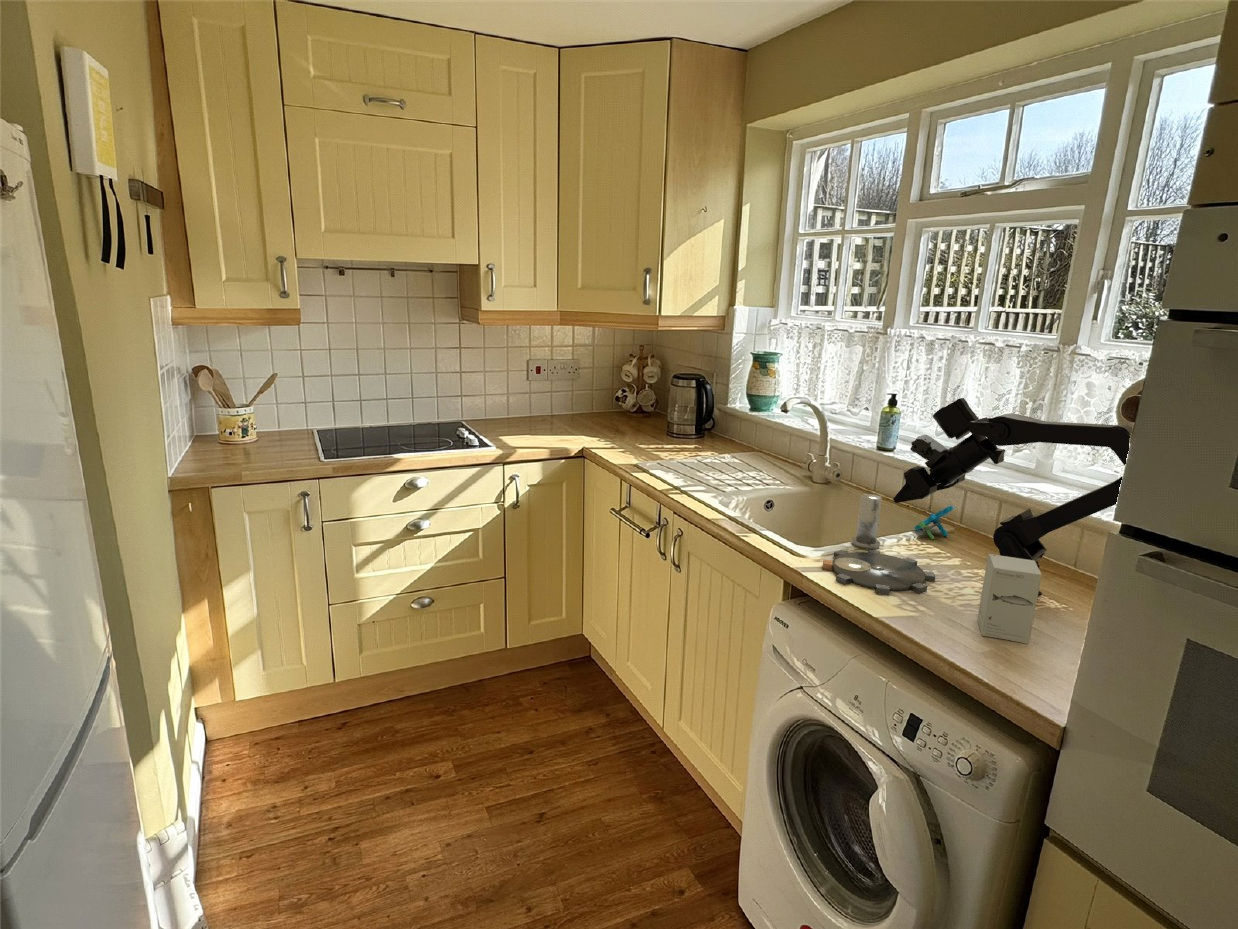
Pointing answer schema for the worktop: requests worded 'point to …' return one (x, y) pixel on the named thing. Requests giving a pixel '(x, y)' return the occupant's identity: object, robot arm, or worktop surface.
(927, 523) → the cyan green stick cluster
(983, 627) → the supplement box
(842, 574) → the sprocket plate
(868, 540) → the pin
